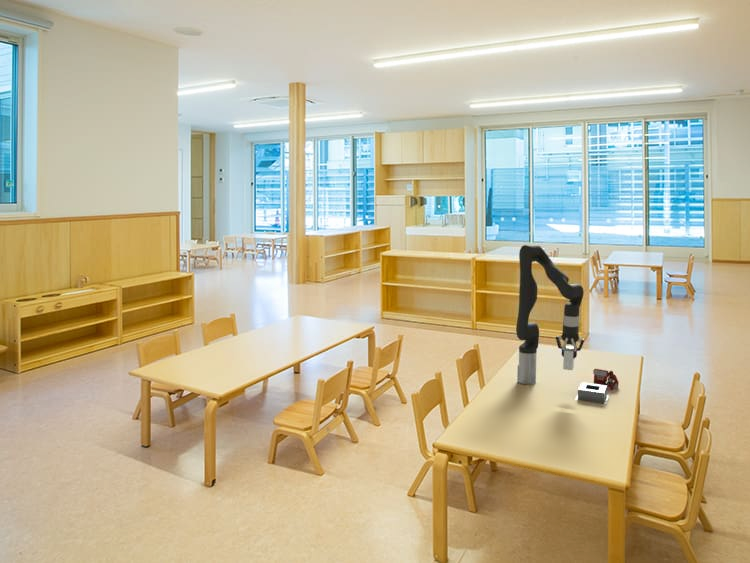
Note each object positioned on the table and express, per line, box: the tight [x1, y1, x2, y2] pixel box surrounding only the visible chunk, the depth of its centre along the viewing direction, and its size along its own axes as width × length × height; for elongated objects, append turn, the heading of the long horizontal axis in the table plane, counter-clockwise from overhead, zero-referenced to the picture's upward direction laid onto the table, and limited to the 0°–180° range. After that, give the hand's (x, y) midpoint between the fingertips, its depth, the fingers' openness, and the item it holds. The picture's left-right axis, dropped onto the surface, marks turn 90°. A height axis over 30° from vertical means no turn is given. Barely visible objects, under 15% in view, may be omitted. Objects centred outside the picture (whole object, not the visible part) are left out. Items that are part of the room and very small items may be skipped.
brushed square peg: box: [562, 345, 575, 371], centre depth 280 cm, size 4×4×11 cm
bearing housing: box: [575, 381, 610, 405], centre depth 277 cm, size 14×14×6 cm
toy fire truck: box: [592, 368, 620, 391], centre depth 292 cm, size 7×12×10 cm, turn 55°
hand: (569, 357), depth 280 cm, fingers closed on brushed square peg, 4 cm apart
